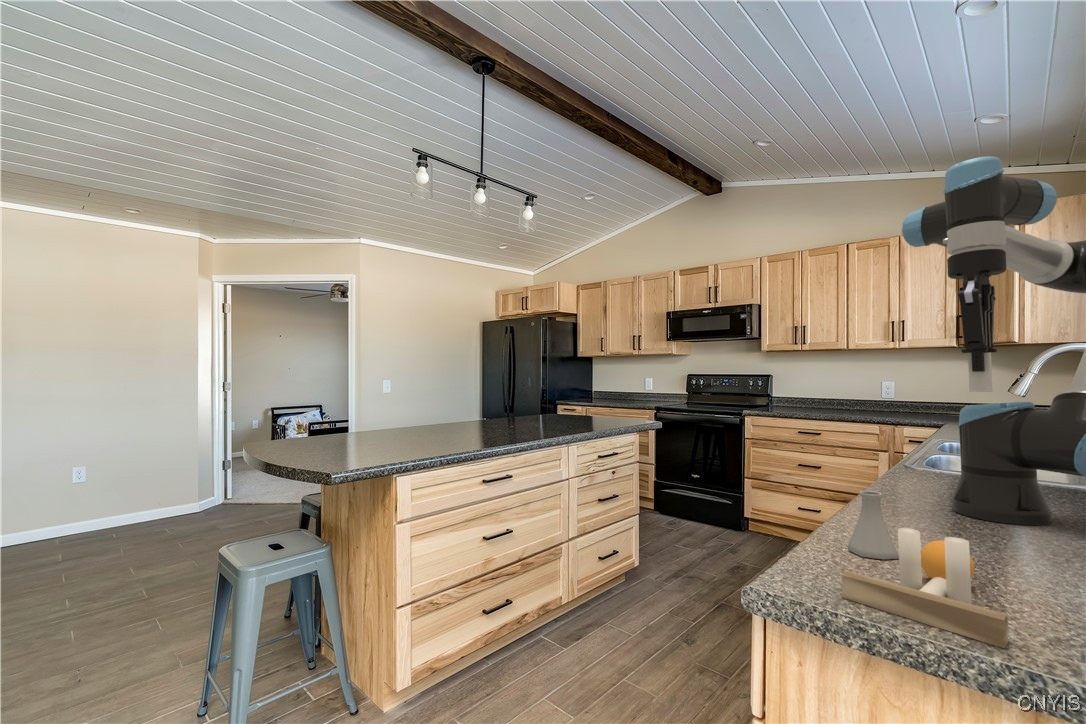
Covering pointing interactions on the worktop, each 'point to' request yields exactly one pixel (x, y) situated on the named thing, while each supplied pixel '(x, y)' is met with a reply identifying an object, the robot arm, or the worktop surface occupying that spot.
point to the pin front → (936, 587)
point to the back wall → (927, 608)
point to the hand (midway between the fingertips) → (980, 391)
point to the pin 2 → (958, 569)
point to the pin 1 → (910, 558)
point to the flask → (872, 530)
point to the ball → (937, 560)
